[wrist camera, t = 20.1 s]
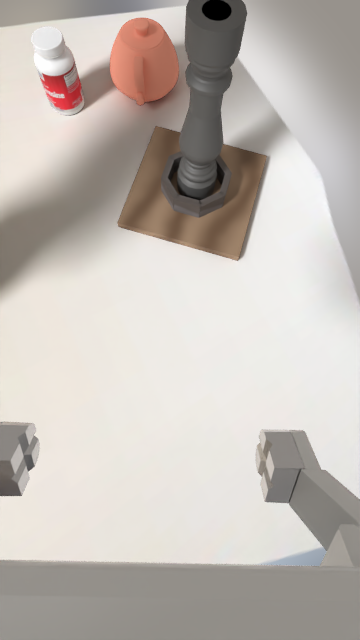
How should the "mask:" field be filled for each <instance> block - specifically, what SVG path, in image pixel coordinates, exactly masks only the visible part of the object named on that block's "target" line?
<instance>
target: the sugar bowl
mask: <svg viewBox="0 0 360 640" xmlns="http://www.w3.org/2000/svg"><path fill="white" fill-rule="evenodd" d="M110 73H111V78H112V81H113V83H114V84H115V86H116V87H117V88H118V90H120V91H121V92H122V93H123V94H125V95H126V96H128V97H129V98H131V99H134V100H136V102H137V104H138V105H143V104H144V103H145V102H149V101H155V100H158V99H160V98H162V97H164V96H165V95H166V94H168V93H169V92H170V91H171V90H172V89H173V87H174V86H175V84H176V82H177V80H178V76H179V65H178V58H177V54H176V51H175V48H174V46H173V44H172V42H171V40H170V38H169V36H168V35H167V33H166V32H165V30H164V29H163V27H162V26H161V25H160V24H159V23H157V22H156V21H154V20H152V19H148V18H135V19H132V20H129V21H128V22H126V23H125V24H124V25H123V26H122V27H121V29H120V31H119V33H118V35H117V37H116V39H115V42H114V44H113V47H112V51H111V57H110Z"/></svg>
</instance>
